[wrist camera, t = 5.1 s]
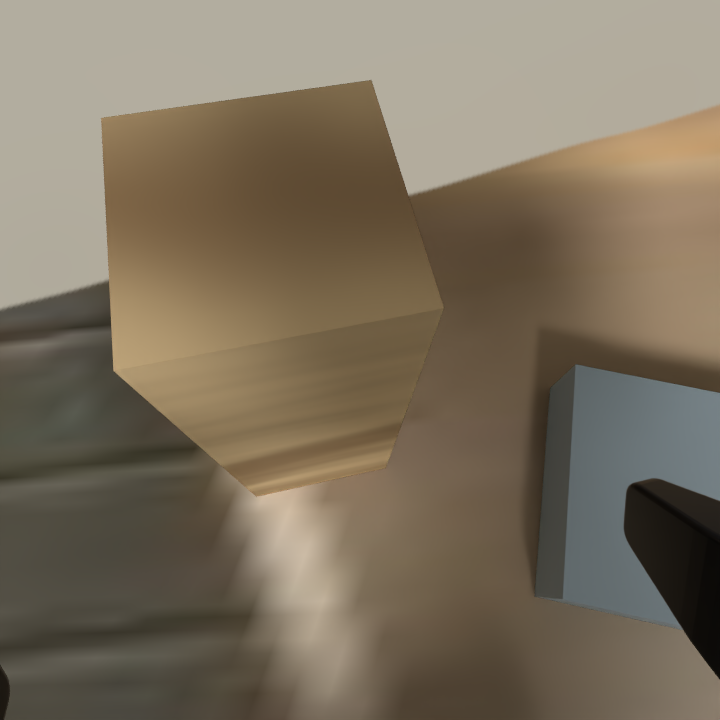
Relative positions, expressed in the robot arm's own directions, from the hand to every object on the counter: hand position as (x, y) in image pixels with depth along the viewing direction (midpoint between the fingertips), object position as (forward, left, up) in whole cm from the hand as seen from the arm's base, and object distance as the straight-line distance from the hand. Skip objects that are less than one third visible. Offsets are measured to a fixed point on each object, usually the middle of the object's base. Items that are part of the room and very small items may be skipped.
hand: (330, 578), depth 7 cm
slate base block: (+8, -9, -13) cm, 17 cm away
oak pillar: (+5, +4, -12) cm, 14 cm away
